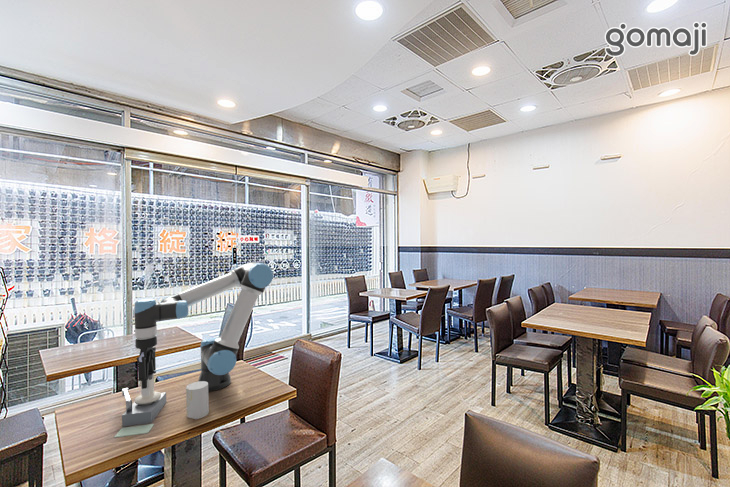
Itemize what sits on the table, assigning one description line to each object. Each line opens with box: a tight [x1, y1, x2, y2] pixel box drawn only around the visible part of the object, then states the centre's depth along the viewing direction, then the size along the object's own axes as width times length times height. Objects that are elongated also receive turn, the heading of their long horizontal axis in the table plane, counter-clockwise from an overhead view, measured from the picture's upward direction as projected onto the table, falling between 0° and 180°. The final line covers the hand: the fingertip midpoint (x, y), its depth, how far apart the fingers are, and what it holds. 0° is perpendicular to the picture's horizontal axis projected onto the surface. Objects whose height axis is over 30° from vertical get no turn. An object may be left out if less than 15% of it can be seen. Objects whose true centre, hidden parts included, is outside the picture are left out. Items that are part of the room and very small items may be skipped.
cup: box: [185, 381, 210, 420], centre depth 139 cm, size 8×8×12 cm
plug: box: [134, 375, 162, 405], centre depth 140 cm, size 9×9×14 cm
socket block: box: [121, 391, 167, 428], centre depth 139 cm, size 10×18×5 cm, turn 14°
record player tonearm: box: [121, 387, 133, 412], centre depth 137 cm, size 2×16×4 cm, turn 41°
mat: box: [113, 423, 155, 439], centre depth 126 cm, size 11×6×1 cm, turn 104°
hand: (147, 392), depth 140 cm, fingers closed on plug, 4 cm apart
